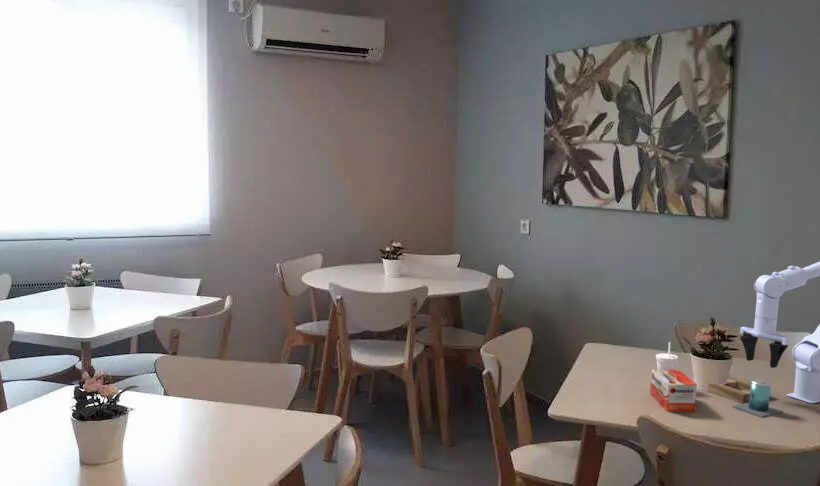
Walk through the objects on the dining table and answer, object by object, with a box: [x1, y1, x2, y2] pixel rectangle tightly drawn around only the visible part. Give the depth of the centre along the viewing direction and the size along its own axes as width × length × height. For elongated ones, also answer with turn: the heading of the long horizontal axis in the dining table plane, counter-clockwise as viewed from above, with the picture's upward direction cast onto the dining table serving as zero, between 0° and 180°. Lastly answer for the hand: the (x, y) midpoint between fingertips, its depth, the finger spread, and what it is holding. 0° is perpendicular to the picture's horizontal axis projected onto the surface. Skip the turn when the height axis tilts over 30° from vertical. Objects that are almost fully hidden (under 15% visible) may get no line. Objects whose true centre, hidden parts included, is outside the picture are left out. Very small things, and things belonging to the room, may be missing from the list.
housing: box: [707, 377, 751, 404], centre depth 222 cm, size 12×12×2 cm
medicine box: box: [649, 368, 698, 413], centre depth 213 cm, size 15×8×8 cm, turn 0°
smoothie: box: [655, 341, 679, 370], centre depth 227 cm, size 6×6×14 cm
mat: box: [732, 402, 784, 418], centre depth 209 cm, size 9×9×1 cm
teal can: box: [749, 378, 772, 412], centre depth 208 cm, size 5×5×8 cm
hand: (761, 363), depth 218 cm, fingers open, 7 cm apart
